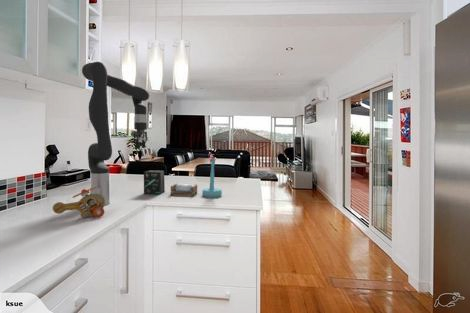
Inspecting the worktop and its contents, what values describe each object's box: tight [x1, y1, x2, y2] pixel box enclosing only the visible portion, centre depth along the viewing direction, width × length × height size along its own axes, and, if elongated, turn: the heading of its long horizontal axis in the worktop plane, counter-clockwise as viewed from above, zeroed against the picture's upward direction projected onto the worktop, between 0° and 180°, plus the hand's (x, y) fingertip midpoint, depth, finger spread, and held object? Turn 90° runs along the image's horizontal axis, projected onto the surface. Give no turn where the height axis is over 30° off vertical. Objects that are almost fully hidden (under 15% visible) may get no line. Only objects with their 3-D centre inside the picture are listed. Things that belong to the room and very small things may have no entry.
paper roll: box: [176, 183, 193, 192], centre depth 187 cm, size 11×5×5 cm, turn 86°
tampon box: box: [143, 170, 166, 195], centre depth 189 cm, size 11×9×15 cm
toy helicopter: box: [52, 187, 106, 219], centre depth 129 cm, size 8×21×14 cm, turn 128°
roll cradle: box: [170, 183, 198, 197], centre depth 187 cm, size 10×15×6 cm, turn 85°
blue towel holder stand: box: [201, 156, 223, 198], centre depth 183 cm, size 12×12×25 cm
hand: (140, 148), depth 178 cm, fingers open, 8 cm apart
